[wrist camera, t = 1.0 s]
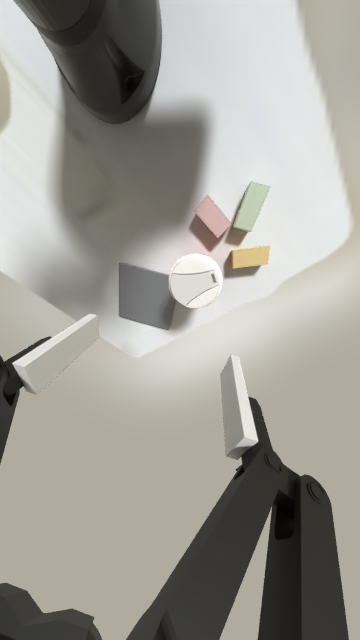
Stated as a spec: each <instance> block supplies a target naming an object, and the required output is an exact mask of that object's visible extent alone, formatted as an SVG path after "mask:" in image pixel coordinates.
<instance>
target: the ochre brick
mask: <svg viewBox="0 0 360 640" xmlns="http://www.w3.org/2000/svg"><path fill="white" fill-rule="evenodd" d="M269 247H270V246H258V247H252V248H245V249H238V250H232V251H231V266H232V268H233V269H234V268H242V267H250V266H258V265H266V264H268V257H269Z"/></svg>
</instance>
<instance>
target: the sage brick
mask: <svg viewBox="0 0 360 640" xmlns="http://www.w3.org/2000/svg"><path fill="white" fill-rule="evenodd" d="M269 189H270V186H267V185H263V184H260V183H256V182H253V181H251V182H250V184H249V185H248V187H247V189H246V192H245V195H244V197H243V200H242V203H241V205H240V208H239V211H238V213H237V216H236V219H235V221H234V224H233V227H232V228H236V229H239V230H242V231H246V232H251V231H252V229H253V226H254V224H255V222H256V219H257V217H258V215H259V212H260V210H261V208H262V206H263V203H264V201H265V199H266V196H267V194H268V192H269Z"/></svg>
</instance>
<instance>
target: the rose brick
mask: <svg viewBox="0 0 360 640" xmlns="http://www.w3.org/2000/svg"><path fill="white" fill-rule="evenodd" d="M194 212H195V213H196V215H197V216H198V217H199V218H200V219H201V220H202V221H203V223H204V224H205V225H206V226H207V227H208V228H209V229H210V230H211V232H212V233H213V234H214V235H215V236H216V237H217V238H219V237H220V236H221V235H222V234H223V232H224V231H225V230H226V229H227V228H228V227H229V226H230V225H231V224H232V223H231V222H230V221H229V220H228V218H227V217H226V216H225V215H224V214H223V212H222V211H221V210H220V209H219V207H218V206H217V205H216V204H215V203H214V201H213V200H212V199H211V198H210V197H209V195H208V194H207V196H206V197H205V198H204V199H203V201H202V202H201V203H200V205H199V206H198V207H197V208H196V210H195V211H194Z"/></svg>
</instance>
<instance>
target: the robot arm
mask: <svg viewBox="0 0 360 640" xmlns="http://www.w3.org/2000/svg"><path fill="white" fill-rule="evenodd" d="M14 1H15V3H16V4H17V5H18V6H19V7H20V9H21V10H22V11H23V12H24V13H25V15H26V16H27V17H28V18H29V19H30V21H31V22H32V23H33V24H34V25H35V27H36V28H37V29H38V31H39V33H40V35H41V37H42V39H43V40H44V42H45V44H46V45H47V47H48V49H49V50H50V52H51V53H52V55H53V57H54V59H55V61H56V64H57V66H58V68H59V70H60V72H61V74H62V76H63V77H64V79H65V81H66V83H67V84H68V86H69V87H70V89H71V90H72V92H73V93H74V94H75V96H76V97H77V98H78V99H79V100H80V101H81V102H82V104H83V105H84V106H85V107H86V108H87V109H88V110H89V111H90V112H91V113H92V114H93V115H95V116H96V117H98V118H99V119H101V120H103V121H105V122H109V123H122V122H125V121H128V120H130V119H131V118H133V117H134V116H135V115H136V114H137V113H138V112H139V111H140V110H141V109H142V108H143V106H144V105H145V103H146V102H147V100H148V98H149V96H150V94H151V92H152V89H153V87H154V84H155V81H156V77H157V73H158V69H159V63H160V56H161V44H162V26H161V14H160V6H159V0H14ZM98 338H99V328H98V315H94V314H91V313H90V314H88V315H87V316H85V317H83V318H82V319H80V320H79V321H77V322H76V323H74V324H73V325H71V326H70V327H68V328H66V329H65V330H63V331H62V332H60V333H59V334H57V335H56V336H54V337H46V338H44V339H41V340H39V341H38V342H36V343H34V345H31V346H29V347H28V348H27V349H24V350H23V351H21V352H20V353H18V354H16V355H15V356H13V357H11V358H10V359H8V360H7V361H5V362H4V361H3V359H2V357H1V356H0V463H1V459H2V456H3V452H4V448H5V445H6V441H7V438H8V434H9V430H10V427H11V423H12V419H13V416H14V412H15V408H16V405H17V401H18V397H19V394H20V393H19V392H20V391H19V389H20V388H22V387H23V386H24V387H25V390H26V391H28V392H30V393H33V394H38V393H39V392H40V391H41V390H42V389H43V388H44V387H45V386H47V385H48V384H49V383H50V382H51V381H52V380H53V379H54V378H55V377H57V375H59V374H60V373H61V372H62V371H63V370H64V369H65V368H66V367H67V366H69V365H70V364H71V363H72V362H73V361H74V360H75V359H76V358H77V357H78V356H80V355H81V353H83V352H84V351H85V350H86V349H87V348H88V347H89V346H91V345H92V344H93V343H94V342H95V341H96V340H97V339H98ZM221 391H222V405H223V422H224V437H225V452H226V456H227V457H230V458H233V459H236V460H238V459H239V458H240V457H242V465H241V466H240V467H239V468H237V469H236V471H237V472H236V474H235V475H234V477H233V479H232V480H231V482H230V483H229V485H228V486H227V488H226V490H225V491H224V493H223V494H222V496H221V498H220V499H219V500H218V502H217V504H216V505H215V507H214V508H213V510H212V511H211V513H210V515H209V516H208V518H207V519H206V521H205V522H204V524H203V525H202V527H201V528H200V530H199V532H198V533H197V535H196V536H195V538H194V539H193V541H192V543H191V544H190V546H189V547H188V549H187V550H186V552H185V553H184V555H183V557H182V558H181V560H180V561H179V563H178V564H177V566H176V568H175V569H174V571H173V572H172V574H171V575H170V577H169V579H168V580H167V582H166V583H165V585H164V586H163V588H162V589H161V591H160V592H159V594H158V596H157V597H156V599H155V600H154V602H153V603H152V605H151V606H150V607H149V609H148V610H147V611H146V612H145V613H144V614H143V616H142V617H141V618H140V619H139V621H138V622H137V624H136V625H135V627H134V628H133V630H132V631H131V633H130V635H129V636H128V638H127V639H126V640H219V639H220V636H221V633H222V631H223V628H224V626H225V623H226V621H227V618H228V616H229V613H230V611H231V608H232V606H233V603H234V601H235V598H236V595H237V593H238V590H239V588H240V585H241V583H242V580H243V578H244V575H245V573H246V570H247V568H248V565H249V563H250V560H251V557H252V554H253V552H254V550H255V547H256V545H257V542H258V540H259V537H260V535H261V532H262V530H263V527H264V524H265V522H266V520H267V517H268V514H269V512H270V509H271V507H272V513H271V523H270V532H269V541H268V551H267V560H266V569H265V579H264V587H263V597H262V607H261V615H260V624H259V635H258V640H349V639H348V630H347V623H346V615H345V607H344V599H343V592H342V584H341V576H340V568H339V561H338V553H337V545H336V538H335V530H334V522H333V515H332V507H331V503H330V499H329V497H328V495H327V493H326V491H325V490H324V488H323V487H322V486H321V484H320V483H319V482H318V481H317V480H315V479H314V478H313V477H311V476H309V475H303V476H299V475H298V474H296V473H295V472H293V471H292V470H290V469H289V468H287V467H286V466H285V465H284V464H283V463H282V462H281V460H280V458H279V457H278V455H277V454H276V453H275V452H274V451H273V449H272V446H271V442H270V439H269V436H268V432H267V428H266V425H265V422H264V418H263V416H262V411H261V407H260V406H259V404H258V402H257V400H256V399H254V398H251V397H248V395H247V390H246V385H245V381H244V376H243V372H242V368H241V363H240V359H239V357H237V356H233V355H231V356H230V357H229V359H228V361H227V363H226V365H225V367H224V369H223V371H222V372H221ZM93 620H94V617H92V616H90V615H87V614H84V613H82V612H80V611H77V610H74V609H68V610H62V611H56V612H51V613H43V612H42V611H41V610H40V608H39V607H38V606H37V604H36V603H35V601H34V600H33V599H32V597H31V596H30V594H29V593H28V592H27V591H26V590H23V589H20V588H18V587H15V586H12V585H10V584H8V583H1V584H0V640H102V638H101V636H100V633H99V631H98V629H97V628H96V627H95V625H94V624H93Z"/></svg>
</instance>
